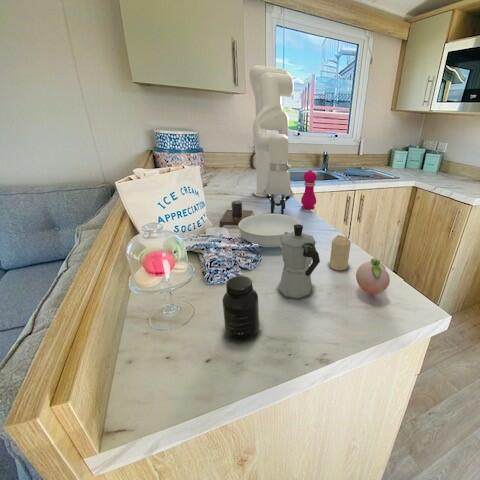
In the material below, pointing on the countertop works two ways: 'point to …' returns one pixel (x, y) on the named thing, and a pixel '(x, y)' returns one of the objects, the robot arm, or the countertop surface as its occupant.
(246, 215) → the brown rectangular slab
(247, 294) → the supplement bottle
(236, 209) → the tap knob
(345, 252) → the candle
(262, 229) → the serving bowl
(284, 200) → the tap bracket
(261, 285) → the countertop surface
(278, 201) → the tap lever
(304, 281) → the coffee maker
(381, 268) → the decorative fruit
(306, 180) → the pepper mill
